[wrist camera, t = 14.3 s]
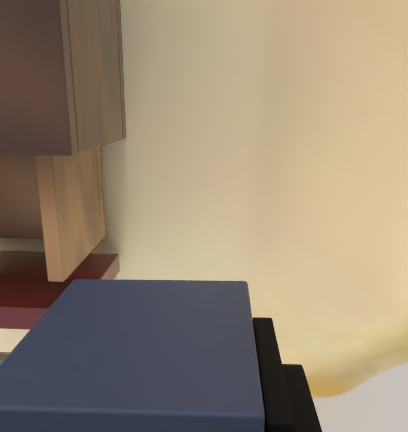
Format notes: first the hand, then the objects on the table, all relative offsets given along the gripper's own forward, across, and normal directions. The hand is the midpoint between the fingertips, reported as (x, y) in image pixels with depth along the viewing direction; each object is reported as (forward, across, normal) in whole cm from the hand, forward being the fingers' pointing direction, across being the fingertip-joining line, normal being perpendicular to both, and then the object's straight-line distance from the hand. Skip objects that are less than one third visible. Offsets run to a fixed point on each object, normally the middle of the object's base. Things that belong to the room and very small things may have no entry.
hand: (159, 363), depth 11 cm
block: (0, 0, 0) cm, 0 cm away
